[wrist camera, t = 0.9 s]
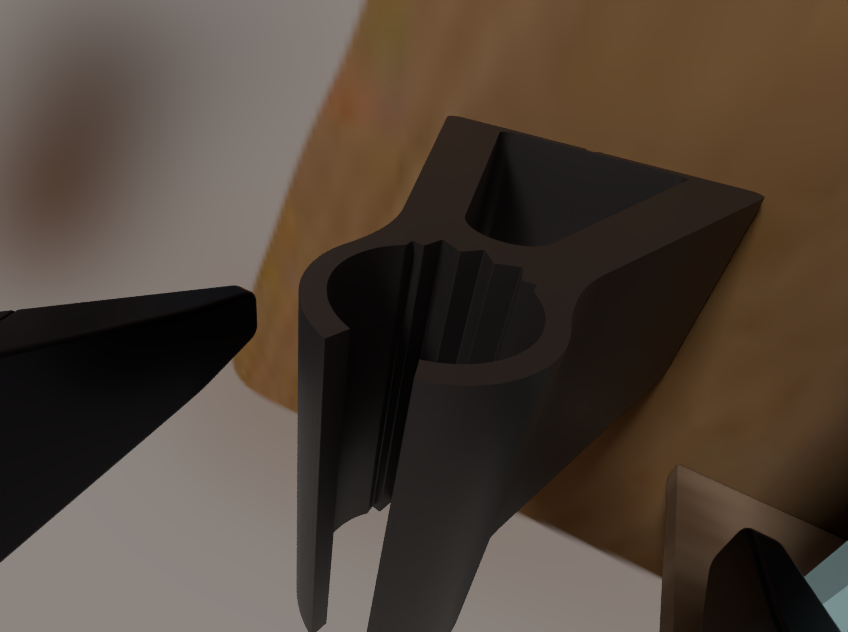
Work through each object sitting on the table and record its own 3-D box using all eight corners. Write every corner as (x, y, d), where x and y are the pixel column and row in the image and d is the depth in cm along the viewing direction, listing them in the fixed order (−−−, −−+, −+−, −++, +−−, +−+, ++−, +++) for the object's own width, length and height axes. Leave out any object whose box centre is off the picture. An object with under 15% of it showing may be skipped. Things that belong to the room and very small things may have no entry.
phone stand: (423, 276, 18) (135, 511, 9) (453, 113, 15) (42, 203, 5) (663, 369, 15) (622, 859, 6) (764, 194, 12) (1027, 663, 3)
